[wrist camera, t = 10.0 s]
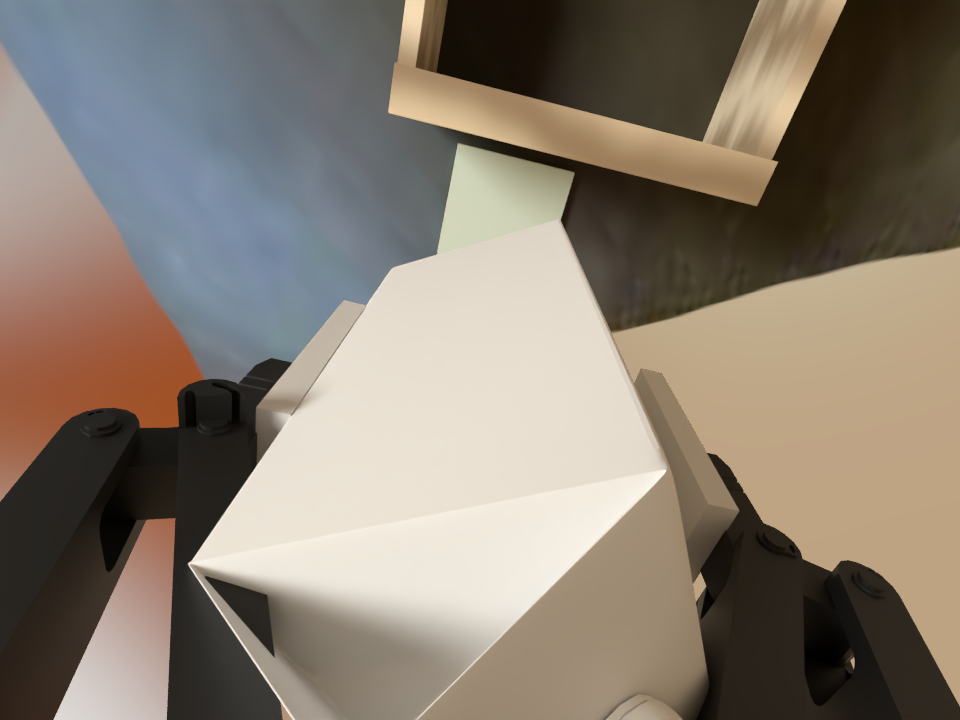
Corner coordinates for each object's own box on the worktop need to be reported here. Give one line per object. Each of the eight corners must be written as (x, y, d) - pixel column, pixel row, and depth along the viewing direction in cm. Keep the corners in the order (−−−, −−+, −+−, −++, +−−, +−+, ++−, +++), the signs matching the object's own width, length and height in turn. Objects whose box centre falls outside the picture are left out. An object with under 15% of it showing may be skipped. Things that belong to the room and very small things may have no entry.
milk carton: (446, 406, 24) (298, 1155, 7) (391, 266, 21) (-118, 995, 4) (595, 371, 22) (862, 1181, 6) (560, 216, 19) (909, 968, 3)
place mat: (458, 142, 38) (458, 143, 37) (573, 171, 38) (574, 172, 38) (436, 256, 42) (435, 259, 41) (541, 281, 42) (541, 283, 42)
